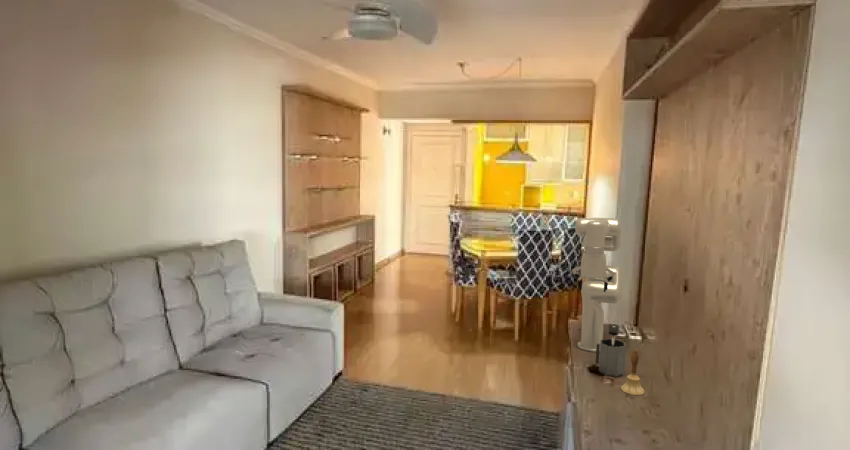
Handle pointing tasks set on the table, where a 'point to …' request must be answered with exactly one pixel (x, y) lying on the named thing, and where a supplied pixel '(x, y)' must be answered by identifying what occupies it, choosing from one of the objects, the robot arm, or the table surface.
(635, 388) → the hand bell
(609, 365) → the grey octagonal cup
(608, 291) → the robot arm
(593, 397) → the table surface
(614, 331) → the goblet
